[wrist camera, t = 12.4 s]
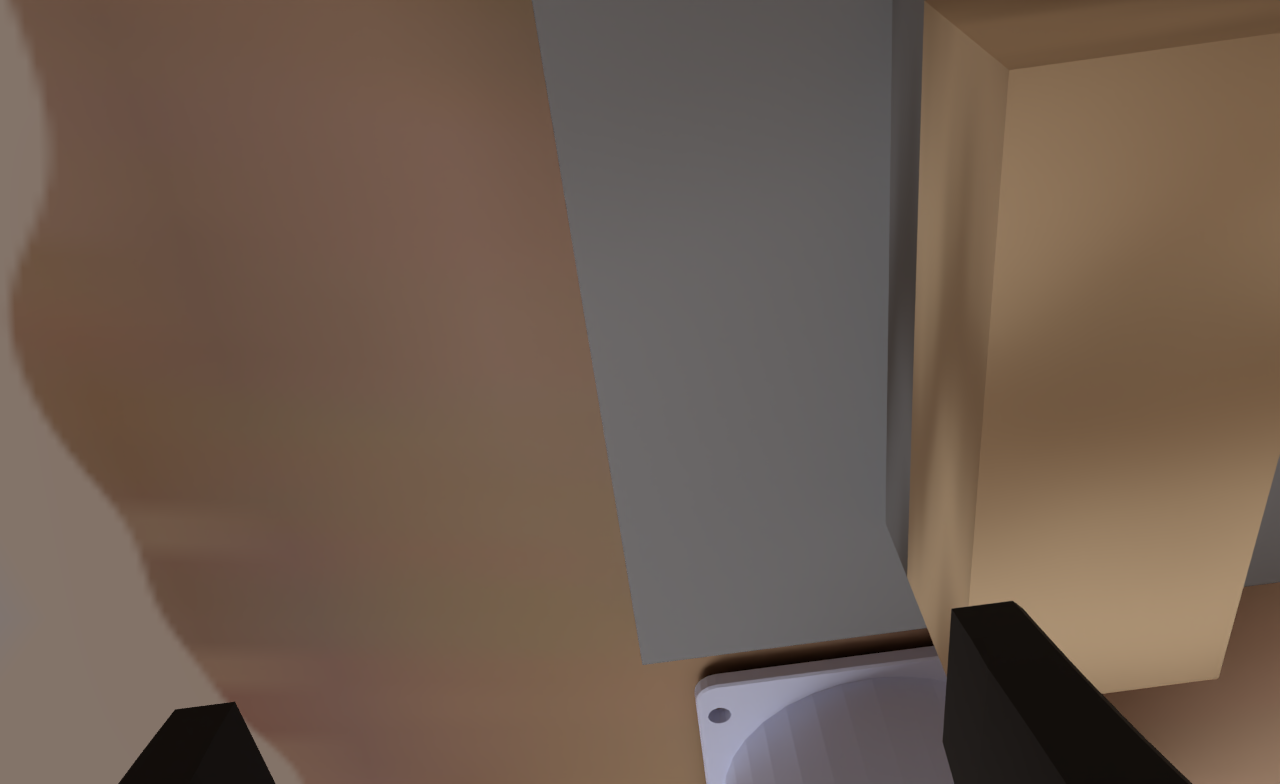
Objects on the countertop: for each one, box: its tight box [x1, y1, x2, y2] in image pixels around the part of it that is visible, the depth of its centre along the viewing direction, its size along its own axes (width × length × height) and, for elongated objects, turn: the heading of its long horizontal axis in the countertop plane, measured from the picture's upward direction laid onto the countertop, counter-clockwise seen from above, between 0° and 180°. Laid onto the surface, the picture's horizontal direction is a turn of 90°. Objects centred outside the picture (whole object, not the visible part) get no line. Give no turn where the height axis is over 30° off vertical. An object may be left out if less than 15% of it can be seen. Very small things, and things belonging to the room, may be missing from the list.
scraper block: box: [885, 0, 1280, 694], centre depth 15 cm, size 10×4×4 cm, turn 7°
